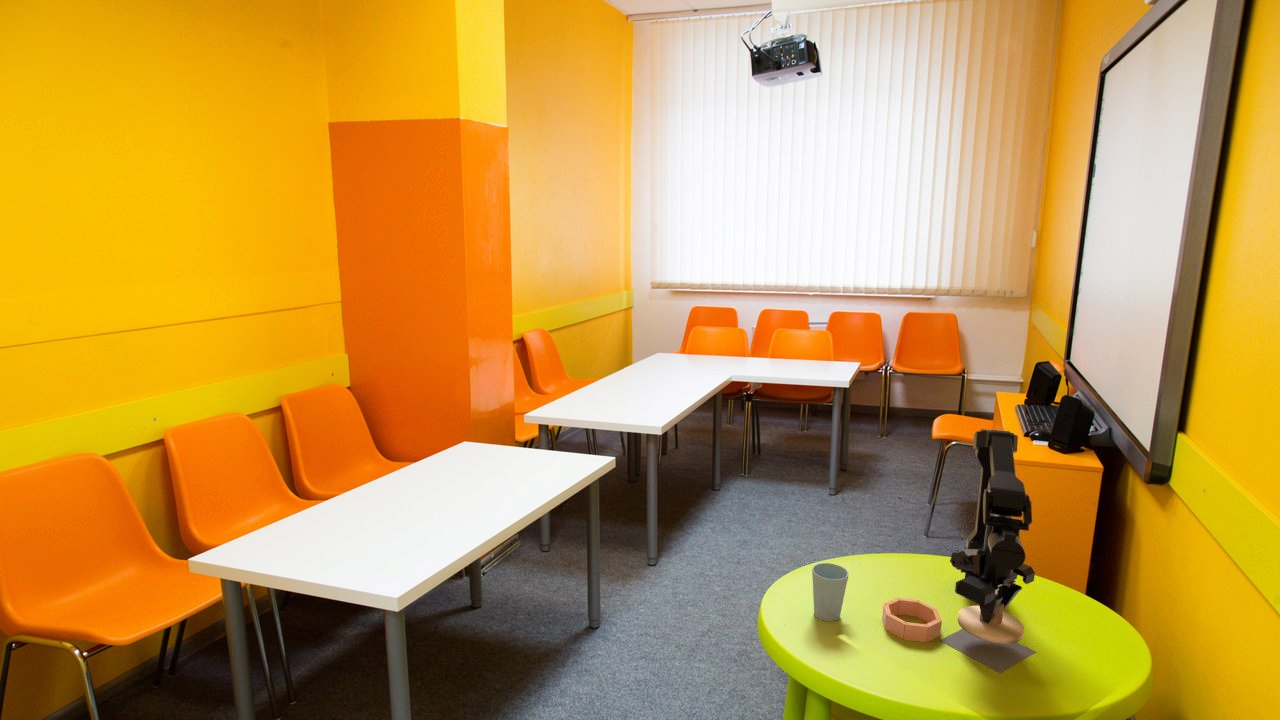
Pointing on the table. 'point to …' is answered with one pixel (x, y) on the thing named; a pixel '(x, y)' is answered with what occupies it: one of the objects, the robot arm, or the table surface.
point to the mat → (988, 650)
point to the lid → (991, 625)
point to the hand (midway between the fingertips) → (990, 619)
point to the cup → (828, 590)
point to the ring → (911, 629)
